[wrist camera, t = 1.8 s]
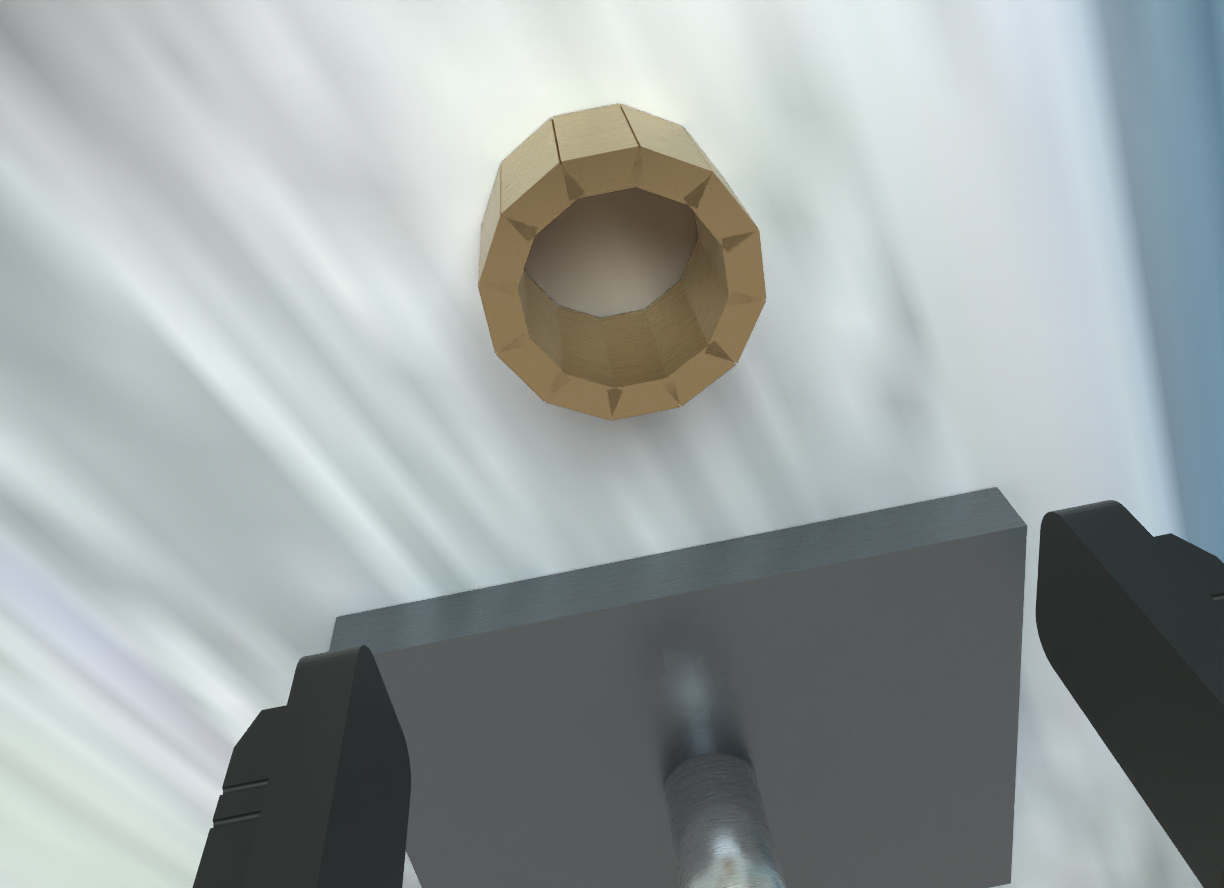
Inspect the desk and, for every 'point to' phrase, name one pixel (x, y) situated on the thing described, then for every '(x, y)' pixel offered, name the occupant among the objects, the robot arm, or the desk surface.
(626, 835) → the piston stand
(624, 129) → the bronze ring
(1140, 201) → the desk surface
